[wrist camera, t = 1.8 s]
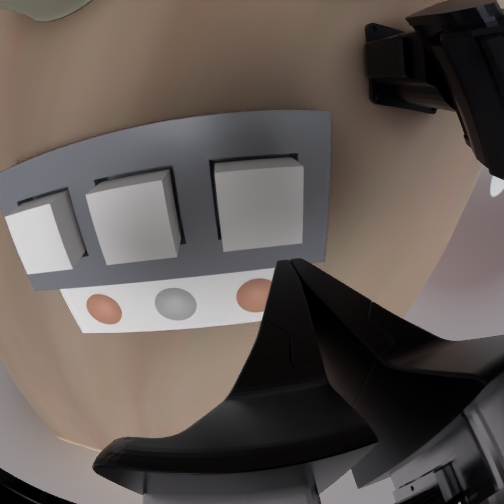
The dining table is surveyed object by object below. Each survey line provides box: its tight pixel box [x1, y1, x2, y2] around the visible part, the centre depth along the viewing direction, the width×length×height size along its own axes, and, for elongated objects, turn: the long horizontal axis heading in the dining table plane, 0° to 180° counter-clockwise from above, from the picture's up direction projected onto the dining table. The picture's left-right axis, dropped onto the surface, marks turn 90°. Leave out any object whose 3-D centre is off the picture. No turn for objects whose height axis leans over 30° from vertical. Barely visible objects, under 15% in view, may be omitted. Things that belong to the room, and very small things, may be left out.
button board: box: [0, 109, 331, 291], centre depth 17 cm, size 23×10×3 cm, turn 93°
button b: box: [214, 157, 304, 252], centre depth 15 cm, size 4×4×2 cm
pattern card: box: [60, 268, 275, 333], centre depth 22 cm, size 22×6×1 cm, turn 93°
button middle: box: [86, 169, 181, 265], centre depth 15 cm, size 4×4×2 cm
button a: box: [5, 190, 86, 274], centre depth 14 cm, size 4×4×2 cm
